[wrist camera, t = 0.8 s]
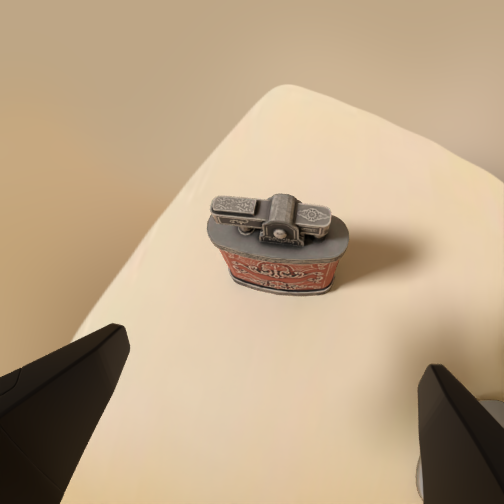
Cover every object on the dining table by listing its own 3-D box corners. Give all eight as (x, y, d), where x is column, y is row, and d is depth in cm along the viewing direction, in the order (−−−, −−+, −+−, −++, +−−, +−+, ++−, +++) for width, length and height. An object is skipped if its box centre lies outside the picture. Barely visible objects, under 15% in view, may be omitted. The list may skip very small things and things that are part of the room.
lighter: (335, 259, 24) (357, 186, 15) (331, 301, 23) (355, 248, 14) (234, 247, 26) (204, 172, 17) (226, 287, 25) (186, 228, 16)
